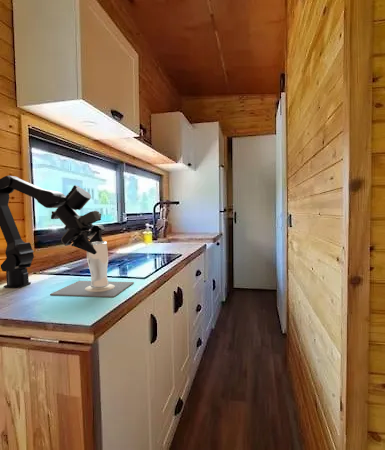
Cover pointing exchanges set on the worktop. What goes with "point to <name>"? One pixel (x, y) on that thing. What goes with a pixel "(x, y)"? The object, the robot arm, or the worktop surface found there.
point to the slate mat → (92, 289)
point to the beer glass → (98, 264)
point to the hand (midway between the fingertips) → (100, 252)
